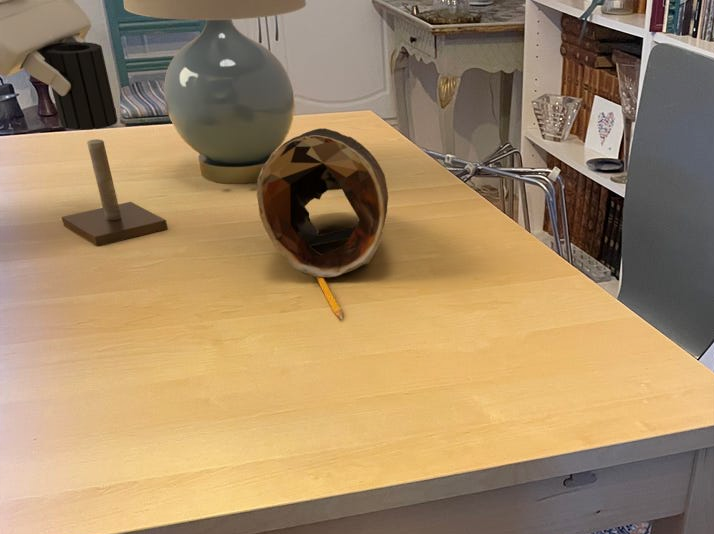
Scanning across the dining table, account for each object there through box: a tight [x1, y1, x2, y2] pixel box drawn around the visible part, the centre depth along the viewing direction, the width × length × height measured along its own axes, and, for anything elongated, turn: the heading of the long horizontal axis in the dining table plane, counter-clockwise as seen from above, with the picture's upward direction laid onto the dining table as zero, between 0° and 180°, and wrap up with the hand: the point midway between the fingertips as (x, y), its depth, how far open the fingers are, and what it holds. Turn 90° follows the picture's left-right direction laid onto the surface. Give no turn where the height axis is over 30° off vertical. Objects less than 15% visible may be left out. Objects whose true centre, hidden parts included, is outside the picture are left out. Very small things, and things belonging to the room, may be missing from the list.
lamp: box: [122, 0, 307, 185], centre depth 131 cm, size 25×25×39 cm
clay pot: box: [256, 128, 389, 278], centre depth 118 cm, size 15×15×25 cm
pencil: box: [315, 276, 343, 320], centre depth 108 cm, size 1×13×1 cm, turn 19°
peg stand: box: [61, 138, 168, 247], centre depth 122 cm, size 10×10×10 cm
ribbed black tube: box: [42, 41, 118, 131], centre depth 113 cm, size 7×7×8 cm
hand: (84, 83), depth 113 cm, fingers closed on ribbed black tube, 7 cm apart
